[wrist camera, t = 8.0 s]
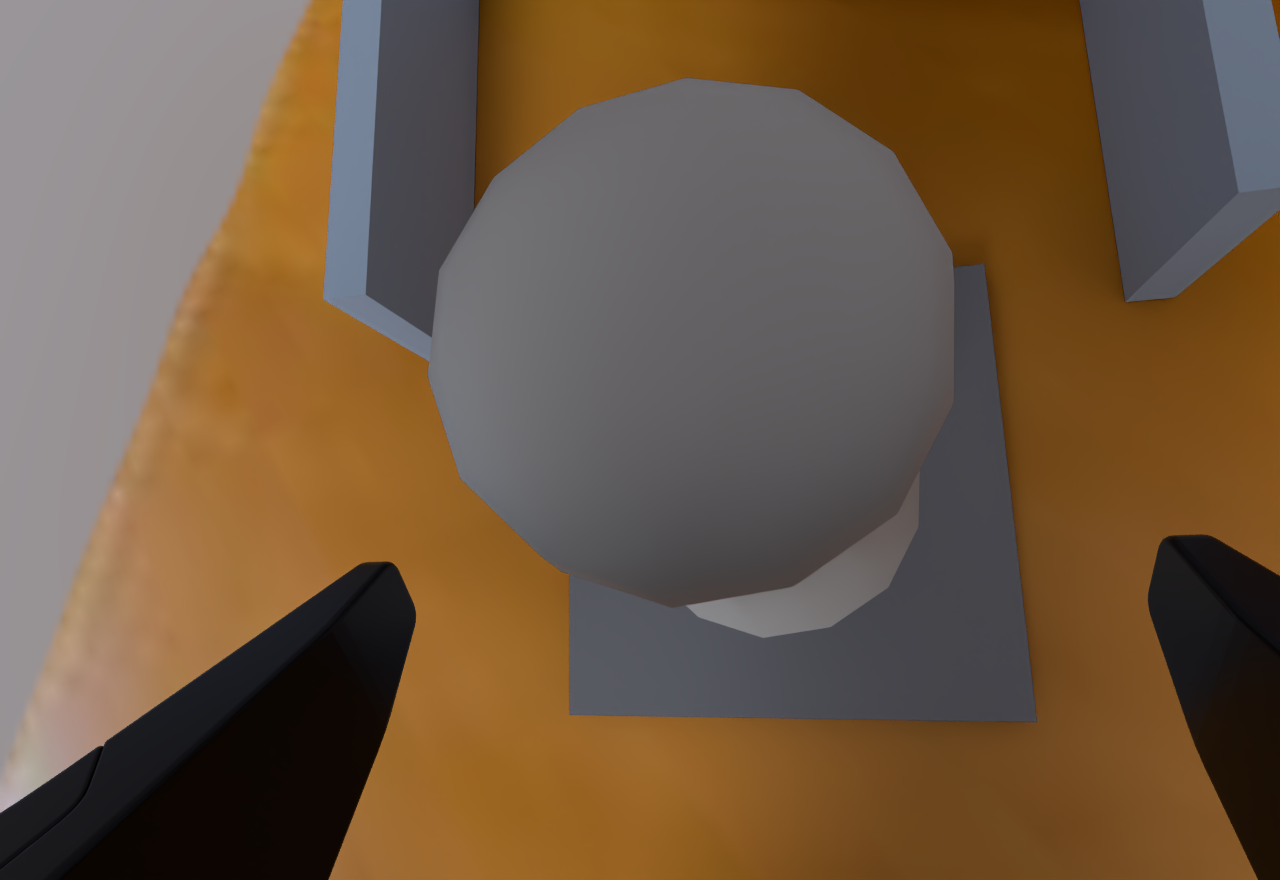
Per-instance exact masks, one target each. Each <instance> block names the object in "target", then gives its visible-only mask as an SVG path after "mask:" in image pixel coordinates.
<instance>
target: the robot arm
mask: <svg viewBox="0 0 1280 880" xmlns="http://www.w3.org/2000/svg"><path fill="white" fill-rule="evenodd" d="M1148 605H1149V611H1150V615H1151V618H1152V621H1153V624H1154V627H1155V630H1156V633H1157V636H1158V639H1159V642H1160V645H1161V648H1162V651H1163V654H1164V657H1165V660H1166V663H1167V666H1168V669H1169V672H1170V675H1171V678H1172V681H1173V684H1174V686H1175V689H1176V692H1177V695H1178V698H1179V701H1180V704H1181V707H1182V710H1183V713H1184V716H1185V719H1186V722H1187V725H1188V728H1189V730H1190V733H1191V736H1192V739H1193V741H1194V744H1195V747H1196V749H1197V751H1198V753H1199V756H1200V758H1201V760H1202V762H1203V765H1204V767H1205V769H1206V771H1207V773H1208V776H1209V778H1210V780H1211V782H1212V784H1213V786H1214V788H1215V790H1216V792H1217V794H1218V797H1219V799H1220V801H1221V803H1222V805H1223V807H1224V809H1225V811H1226V813H1227V815H1228V818H1229V820H1230V822H1231V824H1232V826H1233V828H1234V830H1235V832H1236V834H1237V836H1238V839H1239V841H1240V843H1241V845H1242V847H1243V849H1244V851H1245V853H1246V855H1247V858H1248V860H1249V862H1250V864H1251V866H1252V868H1253V870H1254V872H1255V874H1256V876H1257V879H1258V880H1280V576H1279V575H1277V574H1276V573H1274V572H1272V571H1271V570H1269V569H1267V568H1266V567H1264V566H1262V565H1260V564H1259V563H1257V562H1255V561H1254V560H1252V559H1250V558H1249V557H1247V556H1245V555H1243V554H1242V553H1240V552H1238V551H1237V550H1235V549H1233V548H1232V547H1230V546H1228V545H1226V544H1225V543H1223V542H1221V541H1220V540H1218V539H1216V538H1214V537H1212V536H1209V535H1173V536H1168V537H1166V538H1164V539H1163V540H1162V542H1161V543H1160V546H1159V548H1158V553H1157V557H1156V561H1155V566H1154V570H1153V574H1152V579H1151V583H1150V587H1149V592H1148ZM415 623H416V611H415V606H414V603H413V601H412V599H411V597H410V594H409V592H408V590H407V588H406V585H405V583H404V581H403V579H402V577H401V574H400V572H399V570H398V568H397V567H396V566H395V565H394V564H393V563H391V562H366V563H362V564H360V565H358V566H356V567H355V568H354V569H352V570H351V571H349V572H348V573H346V574H345V575H343V576H342V577H341V578H339V579H338V580H336V581H335V582H333V583H332V584H331V585H329V586H328V587H326V588H325V589H323V590H322V591H321V592H319V593H318V594H316V595H315V596H313V597H312V598H311V599H309V600H308V601H306V602H305V603H303V604H302V605H301V606H299V607H298V608H296V609H295V610H293V611H292V612H290V613H289V614H288V615H286V616H285V617H283V618H282V619H280V620H279V621H278V622H276V623H275V624H273V625H272V626H270V627H269V628H268V629H266V630H265V631H263V632H262V633H260V634H259V635H258V636H256V637H255V638H253V639H252V640H250V641H249V642H248V643H246V644H245V645H243V646H242V647H240V648H239V649H237V650H236V651H235V652H233V653H232V654H230V655H229V656H227V657H226V658H225V659H223V660H222V661H220V662H219V663H217V664H216V665H215V666H213V667H212V668H210V669H209V670H207V671H206V672H205V673H203V674H202V675H200V676H199V677H197V678H196V679H194V680H193V681H192V682H190V683H189V684H187V685H186V686H184V687H183V688H182V689H180V690H179V691H177V692H176V693H174V694H173V695H172V696H170V697H169V698H167V699H166V700H164V701H163V702H162V703H160V704H159V705H157V706H156V707H154V708H153V709H152V710H150V711H149V712H147V713H146V714H144V715H143V716H141V717H140V718H139V719H137V720H136V721H134V722H133V723H131V724H130V725H129V726H127V727H126V728H124V729H123V730H121V731H120V732H119V733H117V734H116V735H114V736H113V737H111V738H110V739H109V740H107V741H106V742H105V744H104V746H99V747H97V748H95V749H94V750H93V751H91V752H90V753H88V754H87V755H85V756H84V757H83V758H81V759H80V760H78V761H77V762H75V763H74V764H73V765H71V766H70V767H68V768H67V769H65V770H64V771H62V772H61V773H60V774H58V775H57V776H55V777H54V778H52V779H51V780H49V781H48V782H46V783H45V784H43V785H42V786H40V787H39V788H37V789H36V790H35V791H33V792H32V793H30V794H29V795H27V796H26V797H24V798H23V799H21V800H20V801H18V802H17V803H15V804H14V805H12V806H10V807H9V808H7V809H6V810H4V811H3V812H1V813H0V880H329V877H330V874H331V872H332V869H333V867H334V864H335V861H336V859H337V856H338V854H339V851H340V849H341V846H342V843H343V841H344V838H345V836H346V833H347V830H348V828H349V825H350V823H351V820H352V818H353V815H354V812H355V810H356V807H357V805H358V802H359V799H360V797H361V794H362V792H363V789H364V787H365V784H366V781H367V779H368V776H369V774H370V771H371V768H372V766H373V763H374V761H375V758H376V756H377V753H378V750H379V748H380V745H381V742H382V739H383V737H384V734H385V731H386V728H387V725H388V722H389V718H390V715H391V712H392V708H393V704H394V701H395V697H396V693H397V690H398V686H399V682H400V679H401V675H402V671H403V668H404V664H405V660H406V657H407V653H408V649H409V646H410V642H411V638H412V635H413V631H414V627H415Z"/></svg>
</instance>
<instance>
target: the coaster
mask: <svg viewBox="0 0 1280 880" xmlns="http://www.w3.org/2000/svg"><path fill="white" fill-rule="evenodd" d="M953 272H954V403H953V405H952V407H951V409H950V411H949V413H948V415H947V417H946V419H945V421H944V423H943V425H942V427H941V429H940V431H939V433H938V435H937V437H936V439H935V441H934V443H933V445H932V447H931V449H930V451H929V453H928V455H927V457H926V458H925V460H924V462H923V464H922V466H921V468H920V481H919V526H918V529H917V531H916V533H915V535H914V537H913V539H912V541H911V543H910V545H909V547H908V549H907V551H906V553H905V555H904V557H903V559H902V561H901V563H900V565H899V567H898V569H897V571H896V573H895V575H894V577H893V579H892V581H891V583H890V585H889V587H888V588H887V589H885V590H884V591H882V592H881V593H880V594H878V595H877V596H875V597H874V598H872V599H871V600H869V601H868V602H866V603H865V604H864V605H862V606H861V607H859V608H858V609H856V610H855V611H853V612H852V613H850V614H849V615H848V616H846V617H845V618H843V619H842V620H840V621H839V622H837V623H836V624H834V625H833V626H832V627H828V628H822V629H816V630H810V631H803V632H797V633H791V634H785V635H778V636H772V637H766V638H762V637H759V636H756V635H752V634H749V633H746V632H743V631H740V630H737V629H734V628H731V627H727V626H724V625H721V624H718V623H715V622H712V621H709V620H706V619H703V618H699V617H698V616H697V615H696V614H694V613H693V612H692V611H691V610H690V609H689V608H688V607H687V606H680V607H675V608H670V607H667V606H664V605H661V604H658V603H655V602H652V601H649V600H646V599H643V598H640V597H637V596H634V595H631V594H628V593H625V592H622V591H619V590H615V589H612V588H609V587H606V586H603V585H600V584H597V583H594V582H591V581H588V580H585V579H582V578H579V577H576V576H573V575H570V574H569V715H597V716H661V717H726V718H791V719H856V720H921V721H986V722H1037V717H1036V709H1035V700H1034V691H1033V683H1032V674H1031V665H1030V657H1029V648H1028V639H1027V630H1026V622H1025V613H1024V604H1023V596H1022V587H1021V578H1020V570H1019V561H1018V552H1017V544H1016V535H1015V526H1014V517H1013V509H1012V500H1011V491H1010V483H1009V474H1008V465H1007V457H1006V448H1005V439H1004V431H1003V422H1002V413H1001V404H1000V396H999V387H998V378H997V370H996V361H995V352H994V344H993V335H992V326H991V317H990V309H989V300H988V291H987V283H986V274H985V265H984V264H979V265H969V266H960V267H953Z"/></svg>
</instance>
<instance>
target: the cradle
mask: <svg viewBox="0 0 1280 880" xmlns="http://www.w3.org/2000/svg"><path fill="white" fill-rule="evenodd" d="M1079 1H1080V7H1081V14H1082V20H1083V27H1084V33H1085V40H1086V47H1087V53H1088V60H1089V66H1090V73H1091V80H1092V86H1093V93H1094V99H1095V106H1096V112H1097V119H1098V126H1099V132H1100V139H1101V145H1102V152H1103V158H1104V165H1105V172H1106V178H1107V185H1108V191H1109V198H1110V204H1111V211H1112V218H1113V224H1114V231H1115V237H1116V244H1117V250H1118V257H1119V264H1120V270H1121V277H1122V283H1123V290H1124V296H1125V302H1131V301H1142V300H1153V299H1164V298H1175V297H1176V296H1178V295H1179V294H1180V293H1181V292H1182V291H1183V290H1185V289H1186V288H1187V287H1188V286H1189V285H1191V284H1192V283H1193V282H1194V281H1195V280H1197V279H1198V278H1199V277H1200V276H1201V275H1202V274H1204V273H1205V272H1206V271H1207V270H1208V269H1210V268H1211V267H1212V266H1213V265H1214V264H1216V263H1217V262H1218V261H1219V260H1220V259H1221V258H1223V257H1224V256H1225V255H1226V254H1227V253H1229V252H1230V251H1231V250H1232V249H1233V248H1235V247H1236V246H1237V245H1238V244H1239V243H1241V242H1242V241H1243V240H1244V239H1245V238H1246V237H1248V236H1249V235H1250V234H1251V233H1252V232H1254V231H1255V230H1256V229H1257V228H1258V227H1260V226H1261V225H1262V224H1263V223H1264V222H1265V221H1267V220H1268V219H1269V218H1270V217H1271V216H1273V215H1274V214H1275V213H1276V212H1277V211H1279V210H1280V40H1279V35H1278V30H1277V25H1276V21H1275V16H1274V11H1273V6H1272V1H1271V0H1079ZM478 29H479V0H343V9H342V24H341V39H340V54H339V69H338V85H337V100H336V115H335V130H334V146H333V161H332V176H331V191H330V206H329V222H328V237H327V252H326V267H325V283H324V298H323V300H325V301H327V302H328V303H330V304H332V305H333V306H335V307H337V308H339V309H340V310H342V311H344V312H345V313H347V314H349V315H350V316H352V317H354V318H356V319H357V320H359V321H361V322H362V323H364V324H366V325H368V326H369V327H371V328H373V329H374V330H376V331H378V332H380V333H381V334H383V335H385V336H386V337H388V338H390V339H391V340H393V341H395V342H397V343H398V344H400V345H402V346H403V347H405V348H407V349H409V350H410V351H412V352H414V353H415V354H417V355H419V356H421V357H422V358H424V359H426V360H427V361H429V360H430V351H431V341H432V332H433V323H434V313H435V304H436V294H437V285H438V276H439V270H440V268H441V266H442V265H443V263H444V261H445V259H446V258H447V256H448V254H449V253H450V251H451V249H452V248H453V246H454V244H455V242H456V241H457V239H458V237H459V236H460V234H461V232H462V231H463V229H464V227H465V225H466V224H467V222H468V220H469V219H470V217H471V215H472V214H473V212H474V186H475V147H476V107H477V68H478Z"/></svg>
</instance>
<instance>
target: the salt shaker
mask: <svg viewBox="0 0 1280 880" xmlns="http://www.w3.org/2000/svg"><path fill="white" fill-rule="evenodd" d="M428 379H429V382H430V385H431V388H432V391H433V394H434V397H435V400H436V404H437V407H438V410H439V413H440V416H441V419H442V422H443V425H444V429H445V432H446V435H447V438H448V441H449V444H450V447H451V450H452V454H453V457H454V460H455V463H456V466H457V469H458V472H459V475H460V479H461V480H462V481H463V482H464V483H465V484H467V485H468V486H469V487H470V488H471V489H472V490H473V491H474V492H475V493H476V494H477V495H478V496H479V497H480V498H481V499H482V500H483V501H484V502H485V503H486V504H487V505H488V506H489V507H490V508H491V509H492V510H494V511H495V512H496V513H497V514H498V515H499V516H500V517H501V518H502V519H503V520H504V521H505V522H506V523H507V524H508V525H509V526H510V527H511V528H512V529H513V530H514V531H515V532H516V533H517V534H518V535H519V536H521V537H522V538H523V539H524V540H525V541H526V542H527V543H528V544H529V545H530V546H531V547H532V548H533V549H534V550H535V551H536V552H537V553H538V554H539V555H540V556H541V557H543V558H544V559H545V560H547V561H548V562H549V563H551V564H552V565H553V566H555V567H556V568H557V569H559V570H560V571H561V572H564V573H567V574H570V575H573V576H576V577H579V578H582V579H585V580H588V581H591V582H594V583H597V584H600V585H603V586H606V587H609V588H612V589H615V590H619V591H622V592H625V593H628V594H631V595H634V596H637V597H640V598H643V599H646V600H649V601H652V602H655V603H658V604H661V605H664V606H667V607H670V608H675V607H680V606H687V607H688V608H689V609H690V610H691V611H692V612H693V613H694V614H696V615H697V616H698V617H699V618H703V619H706V620H709V621H712V622H715V623H718V624H721V625H724V626H727V627H731V628H734V629H737V630H740V631H743V632H746V633H749V634H752V635H756V636H759V637H762V638H766V637H772V636H778V635H785V634H791V633H797V632H803V631H810V630H816V629H822V628H828V627H832V626H833V625H834V624H836V623H837V622H839V621H840V620H842V619H843V618H845V617H846V616H848V615H849V614H850V613H852V612H853V611H855V610H856V609H858V608H859V607H861V606H862V605H864V604H865V603H866V602H868V601H869V600H871V599H872V598H874V597H875V596H877V595H878V594H880V593H881V592H882V591H884V590H885V589H887V588H888V587H889V585H890V583H891V581H892V579H893V577H894V575H895V573H896V571H897V569H898V567H899V565H900V563H901V561H902V559H903V557H904V555H905V553H906V551H907V549H908V547H909V545H910V543H911V541H912V539H913V537H914V535H915V533H916V531H917V529H918V526H919V481H920V468H921V466H922V464H923V462H924V460H925V458H926V457H927V455H928V453H929V451H930V449H931V447H932V445H933V443H934V441H935V439H936V437H937V435H938V433H939V431H940V429H941V427H942V425H943V423H944V421H945V419H946V417H947V415H948V413H949V411H950V409H951V407H952V405H953V403H954V272H953V255H952V251H951V250H950V248H949V246H948V244H947V243H946V241H945V239H944V238H943V236H942V234H941V232H940V231H939V229H938V227H937V226H936V224H935V222H934V220H933V219H932V217H931V215H930V214H929V212H928V210H927V209H926V207H925V205H924V203H923V202H922V200H921V198H920V197H919V195H918V193H917V191H916V190H915V188H914V186H913V185H912V183H911V181H910V179H909V178H908V176H907V174H906V173H905V171H904V169H903V167H902V166H901V164H900V162H899V161H898V159H897V157H896V156H895V154H894V152H893V151H892V150H890V149H889V148H887V147H886V146H884V145H882V144H881V143H879V142H878V141H876V140H875V139H873V138H872V137H870V136H869V135H867V134H866V133H864V132H862V131H861V130H859V129H858V128H856V127H855V126H853V125H852V124H850V123H849V122H847V121H846V120H844V119H842V118H841V117H839V116H838V115H836V114H835V113H833V112H832V111H830V110H829V109H827V108H826V107H824V106H822V105H821V104H819V103H818V102H816V101H815V100H813V99H812V98H810V97H809V96H807V95H806V94H804V93H803V92H801V91H799V90H797V89H787V88H778V87H768V86H759V85H749V84H740V83H731V82H721V81H712V80H702V79H693V78H684V79H680V80H677V81H673V82H670V83H666V84H663V85H659V86H656V87H652V88H649V89H645V90H642V91H638V92H635V93H631V94H628V95H624V96H621V97H617V98H614V99H610V100H607V101H603V102H600V103H596V104H593V105H589V106H586V107H582V108H579V109H578V110H577V111H575V112H574V113H573V114H572V115H570V116H569V117H568V118H567V119H565V120H564V121H563V122H562V123H560V124H559V125H558V126H557V127H556V128H554V129H553V130H552V131H551V132H549V133H548V134H547V135H546V136H544V137H543V138H542V139H541V140H539V141H538V142H537V143H536V144H534V145H533V146H532V147H531V148H529V149H528V150H527V151H526V152H525V153H523V154H522V155H521V156H520V157H518V158H517V159H516V160H515V161H513V162H512V163H511V164H510V165H508V166H507V167H506V168H505V169H503V170H502V171H501V172H500V173H498V174H497V175H496V176H495V177H494V178H493V180H492V181H491V183H490V185H489V186H488V188H487V190H486V191H485V193H484V195H483V197H482V198H481V200H480V202H479V203H478V205H477V207H476V208H475V210H474V212H473V214H472V215H471V217H470V219H469V220H468V222H467V224H466V225H465V227H464V229H463V231H462V232H461V234H460V236H459V237H458V239H457V241H456V242H455V244H454V246H453V248H452V249H451V251H450V253H449V254H448V256H447V258H446V259H445V261H444V263H443V265H442V266H441V268H440V270H439V276H438V285H437V294H436V304H435V313H434V323H433V332H432V341H431V351H430V360H429V369H428Z"/></svg>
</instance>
